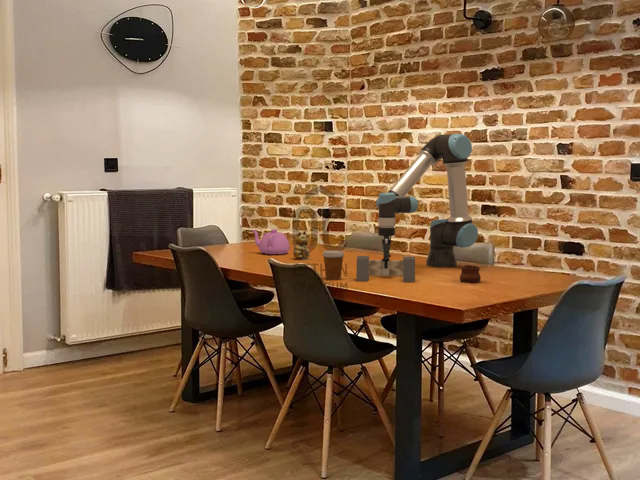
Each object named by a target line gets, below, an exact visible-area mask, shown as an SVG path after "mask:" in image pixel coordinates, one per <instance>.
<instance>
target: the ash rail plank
mask: <svg viewBox="0 0 640 480" xmlns="http://www.w3.org/2000/svg"><path fill="white" fill-rule="evenodd" d="M369 276H377V277H378V276H379V277H384V276H383V261H382V259H369ZM388 277H403V259H401V260H398V259H397V260H396V259H395V260H394V259H391V260H390V259H389V276H388Z"/></svg>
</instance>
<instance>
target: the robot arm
mask: <svg viewBox="0 0 640 480" xmlns="http://www.w3.org/2000/svg"><path fill="white" fill-rule="evenodd" d="M472 145H473V144H472V142H471V140H470V138H469V137H468V136H467V135H465V134H463V133H450V134H438V135H436V136H434V137H433V138H431V139H430V140H428V141H427V143H425V145H424V146H423V147H422V148H421V149H420V150H419V151H418V156H417V157H416V158H415V160H413V162H412V163H411V164H410V165H409V166H408V168H406V170H405V171H404V172H403V174H402V175H401V176H400V177H399V179H397V180H396V182H395V183H394V184H393V185H392V186H391V187H390V189H389V190H388V191H386V192H380V193H379V195H378V197H377V198H376V201H375V205H376V208H377V209H378V219H377V220H376V221H377V222H378V231H377V234H378V236H380V237H383V239H381V244H382V249H383V255H382V256H383V257H382V259H381V260H382V261H383V276H382V277H384V276H385V277H390V276H389V260H390V258H392V255H391V254H390V250H391V244H392V240H391V239H390V237H394V236H395V235H396V228H395V226H396V214H411V213H415V212H416V211H417V210H418V208H419V207H418V206H419V202H418V200H417V198H416V197H415V196H406V195H407V194H408V193H409V192H410V191H411V189H412V188H413V187H414V185H416V184H417V182H418V181H419V180H420V179H421V178H422V176H423V175H424V174H425V173H426V172H427V171H428V170H429V168H431V166H434V165H435V164H436V163H437V162H438V161H440V160H442V164H443V165H444V166H445V168H446V178H447V188H448V189H447V190H448V191H447V192H448V203H449V205H448V206H449V214H450V215H449V218H443V219H442V218H441V219H432V220H431V222H430V226H429V246H430V247H429V252H428V255H427V257H426V261H425V262H426V263H425V265H426V266H428V267H436V268H451V267H453V268H454V267H457V266H458V260H457V257H456V254H455V251H454V249H455V248H454V247H458V248H470V247H472V246H473V245H474V244H475V243H476V241H477V239H478V237H479V229H478V227H477V226H476V225H475V224H474V223H473V218H472V217H471V216H470V215H469V205H468V204H469V203H468V191H467V179H466V165H467V163H468V162H469V159H468V158H469V157H470V156H471V154H472V152H473V146H472Z"/></svg>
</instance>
